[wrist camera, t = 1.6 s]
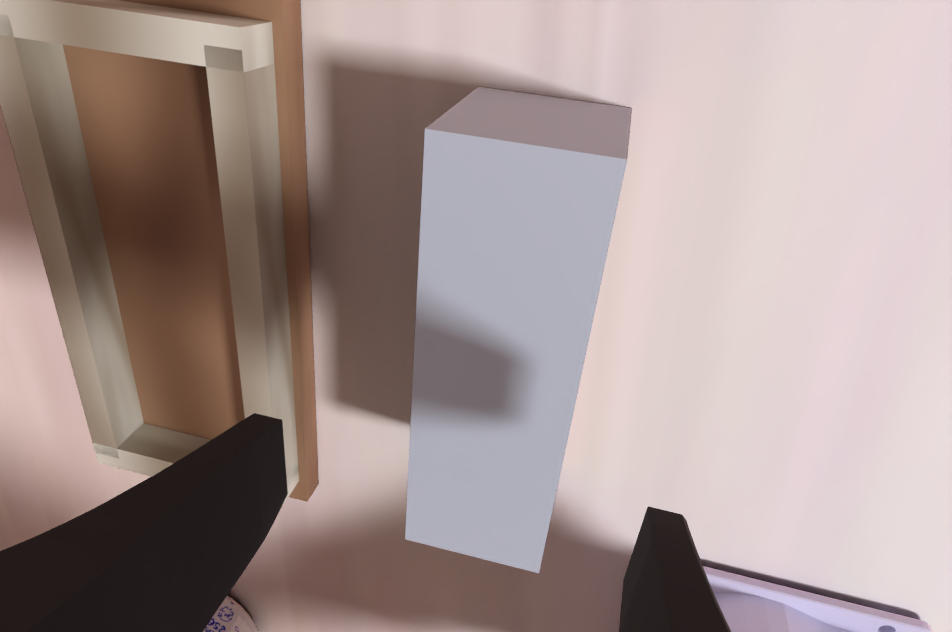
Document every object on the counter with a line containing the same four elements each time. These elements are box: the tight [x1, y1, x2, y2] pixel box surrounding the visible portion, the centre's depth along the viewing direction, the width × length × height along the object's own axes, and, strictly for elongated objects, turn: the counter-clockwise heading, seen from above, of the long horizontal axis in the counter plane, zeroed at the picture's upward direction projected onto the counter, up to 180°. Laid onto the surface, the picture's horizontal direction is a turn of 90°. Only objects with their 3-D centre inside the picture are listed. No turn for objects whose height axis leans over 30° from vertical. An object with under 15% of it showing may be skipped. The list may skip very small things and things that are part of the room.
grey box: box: [405, 87, 632, 573], centre depth 18 cm, size 4×12×5 cm, turn 175°
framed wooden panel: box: [0, 0, 319, 508], centre depth 21 cm, size 8×18×2 cm, turn 174°
